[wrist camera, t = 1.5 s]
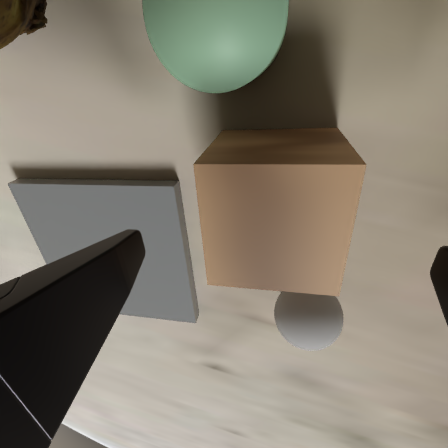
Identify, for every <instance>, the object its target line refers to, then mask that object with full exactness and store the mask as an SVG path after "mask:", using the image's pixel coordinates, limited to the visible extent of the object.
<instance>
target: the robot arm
mask: <svg viewBox="0 0 448 448" xmlns="http://www.w3.org/2000/svg"><path fill="white" fill-rule="evenodd" d="M145 253H146V252H145V246H144V242H143V238H142V234H141V232H140V231H139V230H134V229H127V230H125V231H122V232H120V233H118V234H115V235H113V236H111V237H108V238H106V239H104V240H102V241H99V242H97V243H95V244H92V245H90V246H88V247H86V248H83V249H81V250H79V251H76V252H74V253H72V254H70V255H67V256H65V257H63V258H60V259H58V260H56V261H54V262H51V263H49V264H47V265H44V266H42V267H40V268H37V269H35V270H33V271H31V272H28V273H26V274H24V275H22V276H21V277H17V278H14V279H12V280H10V281H8V282H5V283H3V284H1V285H0V448H49V446H50V444H51V440H52V439H53V438H54V436H55V434H56V432H57V430H58V428H59V426H60V424H61V423H62V421H63V419H64V417H65V415H66V413H67V411H68V409H69V408H70V406H71V404H72V402H73V400H74V398H75V396H76V394H77V393H78V391H79V389H80V387H81V385H82V383H83V381H84V379H85V378H86V376H87V374H88V372H89V370H90V368H91V366H92V364H93V362H94V361H95V359H96V357H97V355H98V353H99V351H100V349H101V347H102V346H103V344H104V342H105V340H106V338H107V336H108V334H109V332H110V331H111V329H112V327H113V325H114V323H115V321H116V319H117V317H118V315H119V314H120V312H121V310H122V308H123V306H124V304H125V302H126V300H127V298H128V296H129V294H130V292H131V290H132V288H133V285H134V283H135V280H136V278H137V275H138V273H139V270H140V268H141V265H142V263H143V260H144V258H145ZM430 277H431V280H432V283H433V286H434V289H435V291H436V294H437V297H438V300H439V303H440V306H441V309H442V312H443V315H444V317H445V320H446V323H447V325H448V246H442V247H440V249H439V250H438V252H437V255H436V257H435V260H434V262H433V264H432V267H431V270H430Z"/></svg>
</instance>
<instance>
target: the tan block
mask: <svg viewBox="0 0 448 448" xmlns="http://www.w3.org/2000/svg"><path fill="white" fill-rule="evenodd" d="M193 165H194V173H195V182H196V190H197V199H198V207H199V216H200V224H201V233H202V241H203V250H204V258H205V267H206V275H207V284H208V285H216V286H227V287H238V288H250V289H261V290H273V291H284V292H296V293H307V294H318V295H330V296H339V294H340V290H341V285H342V280H343V275H344V270H345V266H346V261H347V256H348V251H349V246H350V242H351V237H352V232H353V227H354V222H355V217H356V213H357V208H358V203H359V198H360V193H361V189H362V184H363V179H364V174H365V169H366V163H365V162H364V161H363V160H362V158H361V157H360V156H359V155H358V153H357V152H356V151H355V149H354V148H353V147H352V146H351V144H350V143H349V142H348V140H347V139H346V138H345V137H344V135H343V134H342V133H341V132H340V130H339V129H338V128H298V129H251V130H223V131H222V132H221V133H220V134H219V135H218V136H217V138H216V139H215V140H214V141H213V142H212V143H211V145H210V146H209V147H208V148H207V149H206V150H205V151H204V153H203V154H202V155H201V156H200V157H199V158H198V160H197V161H196V162H195V163H194V164H193Z"/></svg>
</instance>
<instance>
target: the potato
mask: <svg viewBox="0 0 448 448" xmlns="http://www.w3.org/2000/svg"><path fill="white" fill-rule="evenodd" d="M46 6H47V2H46V0H0V49H1V48H3V47H5V46H6V45H8V44H9V43H11V42H12V41H14V40H15V39H16V38H17V37H18V36H19V35H21V34H23V33H27V35H28V34H30V33H33V32H35V31H36V30H38V29H40V28H43V27H46V25H45V23H46V24H47V18H46V17H45V15H44V14H45V9H46Z"/></svg>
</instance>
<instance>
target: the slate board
mask: <svg viewBox="0 0 448 448" xmlns="http://www.w3.org/2000/svg"><path fill="white" fill-rule="evenodd" d="M8 186H9V188H10V190H11V192H12V194H13V196H14V198H15V200H16V202H17V204H18V206H19V208H20V210H21V212H22V215H23V217H24V219H25V221H26V223H27V225H28V227H29V229H30V231H31V233H32V235H33V237H34V239H35V241H36V243H37V245H38V247H39V250H40V252H41V254H42V256H43V258H44V260H45V262H46V264H49V263H51V262H54V261H56V260H58V259H60V258H63V257H65V256H67V255H70V254H72V253H74V252H76V251H79V250H81V249H83V248H86V247H88V246H90V245H92V244H95V243H97V242H99V241H102V240H104V239H106V238H108V237H111V236H113V235H115V234H118V233H120V232H122V231H125V230H127V229H134V230H139V231H140V232H141V234H142V238H143V242H144V246H145V252H146V253H145V258H144V260H143V263H142V265H141V268H140V270H139V273H138V275H137V278H136V280H135V283H134V285H133V288H132V290H131V292H130V294H129V296H128V298H127V300H126V302H125V304H124V306H123V308H122V310H121V312H120V314H122V315H130V316H139V317H148V318H156V319H165V320H173V321H182V322H190V323H196V321H197V318H198V315H199V311H198V304H197V297H196V291H195V284H194V277H193V271H192V264H191V257H190V251H189V244H188V237H187V231H186V224H185V217H184V211H183V204H182V197H181V191H180V184H179V181H165V180H94V179H24V178H19V179H17V180H14V181H12V182H10V183H8Z"/></svg>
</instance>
